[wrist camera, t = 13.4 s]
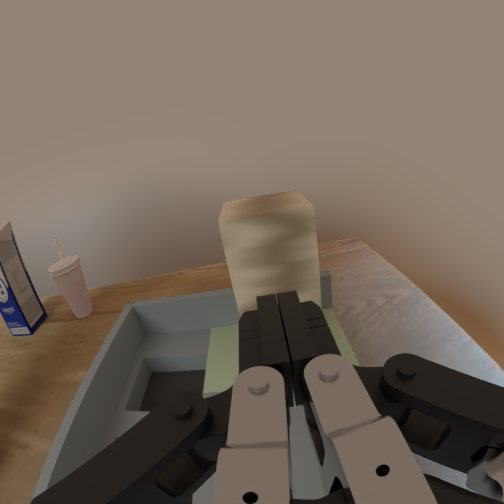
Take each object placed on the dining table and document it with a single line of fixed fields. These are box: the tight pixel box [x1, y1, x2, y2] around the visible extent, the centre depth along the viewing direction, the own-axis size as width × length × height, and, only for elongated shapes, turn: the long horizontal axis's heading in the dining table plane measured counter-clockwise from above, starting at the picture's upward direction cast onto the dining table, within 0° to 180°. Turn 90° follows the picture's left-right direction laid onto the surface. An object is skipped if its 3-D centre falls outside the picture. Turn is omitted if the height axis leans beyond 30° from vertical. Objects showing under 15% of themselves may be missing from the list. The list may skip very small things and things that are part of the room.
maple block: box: [218, 190, 322, 318], centre depth 22 cm, size 6×6×13 cm
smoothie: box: [48, 238, 93, 318], centre depth 37 cm, size 6×6×14 cm
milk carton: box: [0, 221, 47, 336], centre depth 34 cm, size 7×7×20 cm
